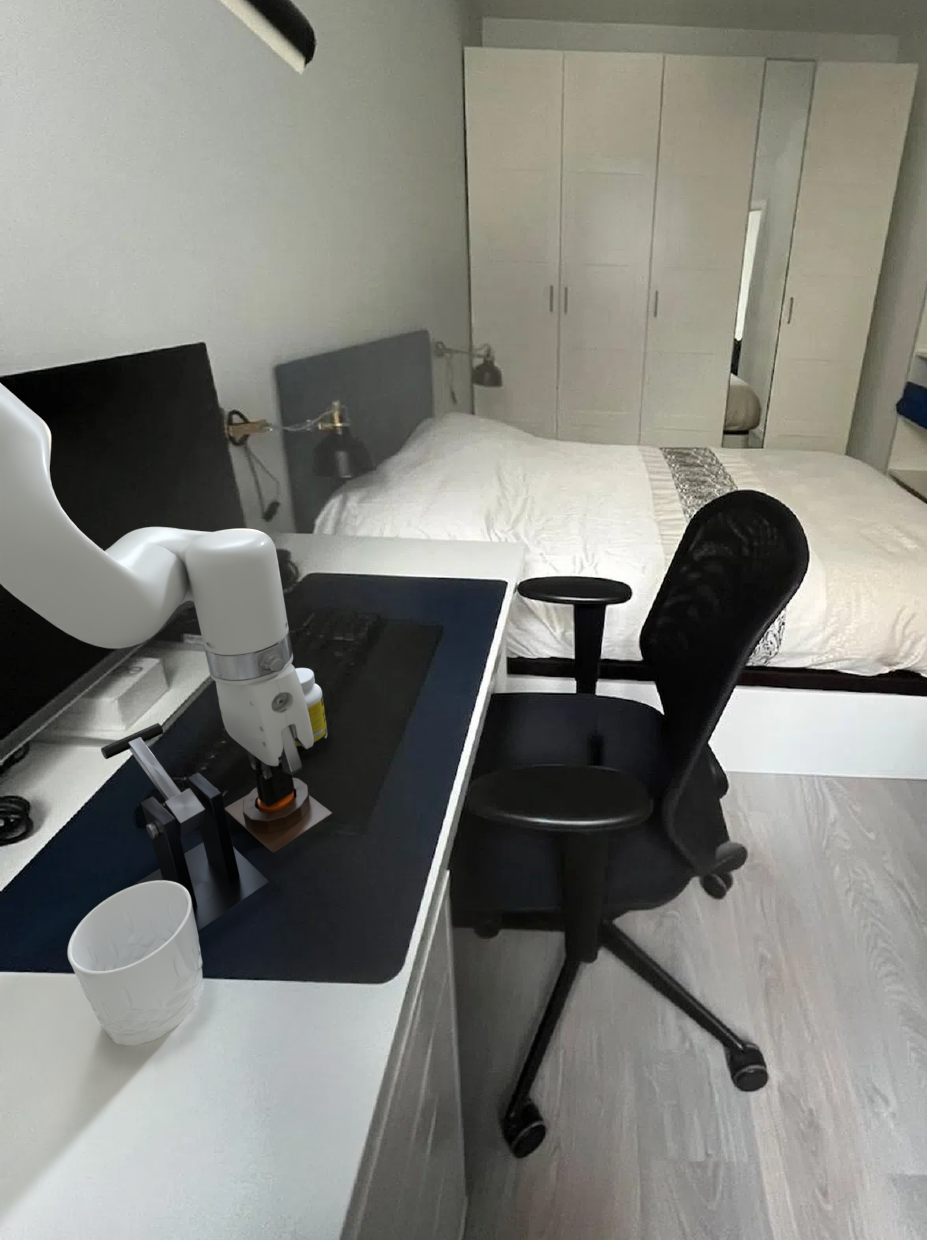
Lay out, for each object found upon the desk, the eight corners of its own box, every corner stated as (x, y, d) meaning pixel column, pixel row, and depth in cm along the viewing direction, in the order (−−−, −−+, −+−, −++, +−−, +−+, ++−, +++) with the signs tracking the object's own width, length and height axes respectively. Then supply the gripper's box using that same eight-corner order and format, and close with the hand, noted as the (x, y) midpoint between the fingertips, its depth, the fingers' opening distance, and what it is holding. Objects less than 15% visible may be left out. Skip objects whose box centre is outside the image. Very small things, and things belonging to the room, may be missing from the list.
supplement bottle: (335, 740, 85) (327, 676, 82) (294, 759, 82) (283, 694, 78) (316, 721, 89) (307, 660, 85) (276, 739, 85) (265, 675, 81)
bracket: (137, 892, 63) (108, 797, 59) (220, 840, 70) (200, 752, 65) (186, 951, 58) (158, 852, 54) (271, 890, 64) (253, 796, 60)
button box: (225, 816, 73) (220, 795, 72) (284, 782, 78) (280, 762, 77) (274, 861, 67) (270, 839, 66) (334, 821, 73) (331, 800, 72)
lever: (101, 757, 63) (99, 742, 61) (158, 731, 67) (157, 716, 65) (164, 847, 58) (163, 833, 57) (220, 814, 62) (221, 800, 61)
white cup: (81, 1024, 52) (47, 937, 48) (181, 947, 58) (158, 864, 55) (131, 1085, 48) (99, 995, 45) (233, 995, 55) (211, 910, 51)
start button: (253, 810, 72) (250, 798, 71) (284, 792, 74) (281, 780, 74) (271, 826, 70) (268, 813, 69) (302, 806, 73) (299, 794, 72)
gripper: (328, 661, 63) (348, 807, 70) (247, 615, 71) (272, 750, 78) (253, 697, 58) (282, 851, 65) (174, 642, 66) (208, 785, 73)
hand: (277, 795), depth 71 cm, fingers closed
